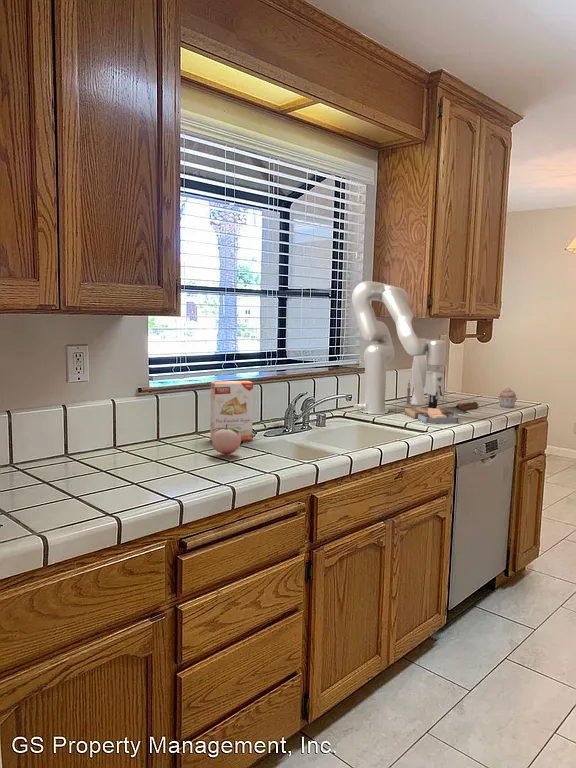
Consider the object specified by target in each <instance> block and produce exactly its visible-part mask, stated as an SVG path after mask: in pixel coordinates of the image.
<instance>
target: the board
mask: <svg viewBox="0 0 576 768" xmlns="http://www.w3.org/2000/svg"><path fill="white" fill-rule="evenodd" d="M438 408H439V410H440V411H441V413H442V414H450V415H453V416H454V412H452V411H450V410H447V409H444V408H445V407H438ZM427 412H428V407H407V408H406V407H405V408H404V416H406V415H407V416H406V417H408V416H409V417H408V418H410V417H411V419H412V418H413V420H414V419H417V415H418V414H428V413H427Z"/></svg>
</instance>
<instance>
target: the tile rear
mask: <svg viewBox="0 0 576 768" xmlns="http://www.w3.org/2000/svg"><path fill="white" fill-rule="evenodd" d="M427 408H428V407H427ZM439 408H440V407H437V408H428V412H427V413H428V415H429V416H430V418H432V415H434V414H442V413H441V411H440V410H439Z"/></svg>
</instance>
